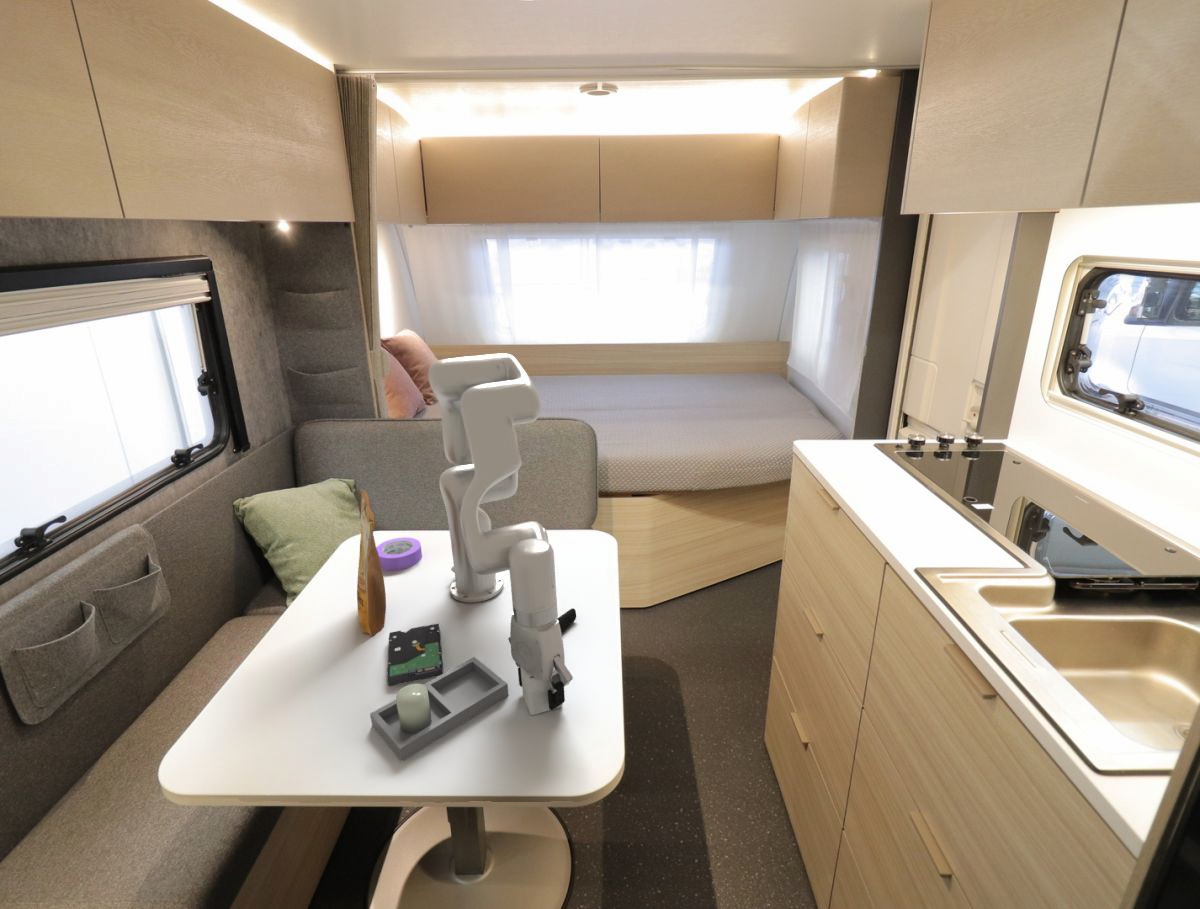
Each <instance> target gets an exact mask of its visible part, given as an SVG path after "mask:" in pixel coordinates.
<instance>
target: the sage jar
mask: <svg viewBox="0 0 1200 909" xmlns="http://www.w3.org/2000/svg"><path fill="white" fill-rule="evenodd" d="M395 700H396V703H397V709H398V715H399V721H400V726H401V730H402V731H403V732H405V733H407V734H416V733H419V732H420V731H422V730H424V729H425V728H427V727H429V725H430V724H431V721H432V717H431V710H430V704H429V697H428V690H427V688H426V686H424V685H423V684H421V683H411V684H408V685H405V686H404V687H402V688H400V689H399V690H398V691H397V693H396V694H395Z"/></svg>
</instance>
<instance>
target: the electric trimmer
mask: <svg viewBox="0 0 1200 909" xmlns="http://www.w3.org/2000/svg"><path fill="white" fill-rule="evenodd" d="M557 619H558V621H559V625H560V629H561V634H562V635H563V633H565V631H566V630H567V629H568V628H569V627H570V626H571V625H572V623H574V622H575V621H576V619H577V613H576V609H575V608H570V609H568V611H566V612H564V613H563V614H561V615H560V616H558V618H557Z"/></svg>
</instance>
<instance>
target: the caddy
mask: <svg viewBox="0 0 1200 909" xmlns="http://www.w3.org/2000/svg"><path fill="white" fill-rule="evenodd" d="M422 685H424V686H426V688H427V690H428V697H429V704H430V710H431V717H432V721H431V724H430V725H429V727H427V728H425V729H424V730H422V731H420V732H419V733H416V734H407V733H405V732H403V731H402V730H401V726H400V721H399V715H398V709H397V703H396V699H394V700H392V701H391V702H389V703H387V704H385V705H383V706H381V707H380V708H378V709H376V710H374V711H372V712H371V713H370V714H369V716H370V720H371V721H370V722H371V726H372V727H373V729H374V730H375V731H376V732H377V733H378V734H379V736H380V737H381V738H382V740H383V741H384V742H385V743H386V744H387V745H388V746H389V748H390V749H391V750H392V751H393V752H394V754H395V755H396V756H397V757H398V758H399V760H400V762H404V761H406V759H409V758H410V757H412V756H413V755H415V754H417V753H418V752H420V751H422V750H423V749H425V748H426V747H428V746H429V745H431V744H432V743H434V742H435V741H438V740H439V739H441V738H442V737H444V736H446V735H448V734H449V733H450V732H453V730H455V729H457V728H458V727H460V726H461V725H463V724H465V723H466V722H468V721H469V720H471V719H473V718H475V717H476V716H478V715H480V714H481V713H482V712H484V711H486V710H488V709H490V708H491V707H492V706H494V705H496V704H497V703H499V702H500V701H502V700H503V699H505V698H507V697H508V696H509V686H508V685H509V684H508V683H507V682H506V681H505V680H503V679H502V678H501V677H500V676H499V675H497V673H495V672H494V671H492V670H491V669H490V668H489V667H487V666H486V665H485V664H484V663H483V662H482V661H480V660H478V659H477V658H476V657H475V656H472V657H471V658H469V659H468V660H466V661H464V662H462V663H460V664H458V665H456V666H454V667H452V668H451V669H449V670H447V671H446V672H443V674H442V675H440V676H436V677H433V678H432V679H430V680H429V681H427V682H425V683H423V684H422Z"/></svg>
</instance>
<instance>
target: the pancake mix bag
mask: <svg viewBox="0 0 1200 909" xmlns="http://www.w3.org/2000/svg"><path fill="white" fill-rule="evenodd" d="M359 490H360V493H361V502H360V504H361V505H360V542H359V557H358V558H359V559H358V568H357V585H356V600H357V602H356V603H357V613H358V620H359V625H360V629H361V632H362V634H368V635H369V636H370V638H372V637H374V636H375V635H377V634H378V633H380V632H381V631H382V629H383V628H384V627H385V622H386V615H387V614H386V613H387V612H386V611H387V593H386V586H385V579H384V573H383V572H384V571H383V569H382V567H381V562H380V558H379V555H378V551H377V549H376V547H377V545H376V541H375V536H374V530H375V515H374V512H373V511H372V508H371V506H370V499H369V493H367V491H366V490H364V489H363V488H360V489H359Z"/></svg>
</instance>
